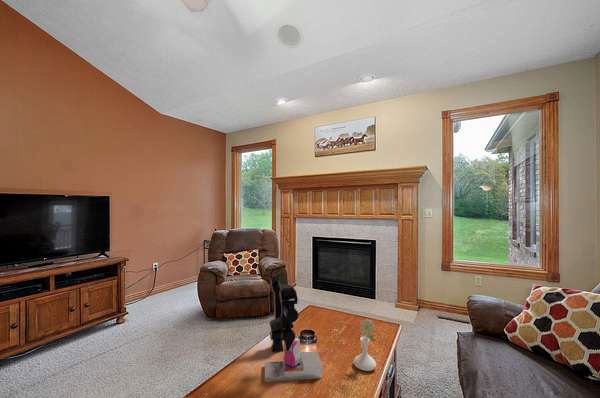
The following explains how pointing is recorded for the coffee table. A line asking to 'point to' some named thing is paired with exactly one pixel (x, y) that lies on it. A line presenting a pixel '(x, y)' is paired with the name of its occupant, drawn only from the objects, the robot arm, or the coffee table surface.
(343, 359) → the coffee table surface
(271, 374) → the step stand
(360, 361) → the flower in vase
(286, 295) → the robot arm
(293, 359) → the supplement box
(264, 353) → the coffee table surface
